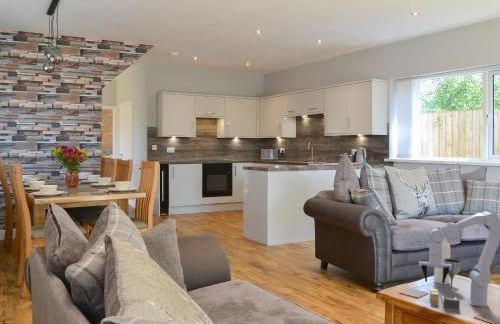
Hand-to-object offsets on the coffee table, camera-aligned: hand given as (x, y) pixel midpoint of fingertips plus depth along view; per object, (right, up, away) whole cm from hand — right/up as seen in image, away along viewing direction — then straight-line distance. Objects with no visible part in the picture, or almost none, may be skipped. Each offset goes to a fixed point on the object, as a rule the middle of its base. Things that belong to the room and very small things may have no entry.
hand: (434, 282), depth 225 cm
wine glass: (+18, -9, +22) cm, 29 cm away
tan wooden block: (0, -10, 0) cm, 10 cm away
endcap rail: (+6, -10, -4) cm, 12 cm away
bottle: (+17, -9, +34) cm, 39 cm away
